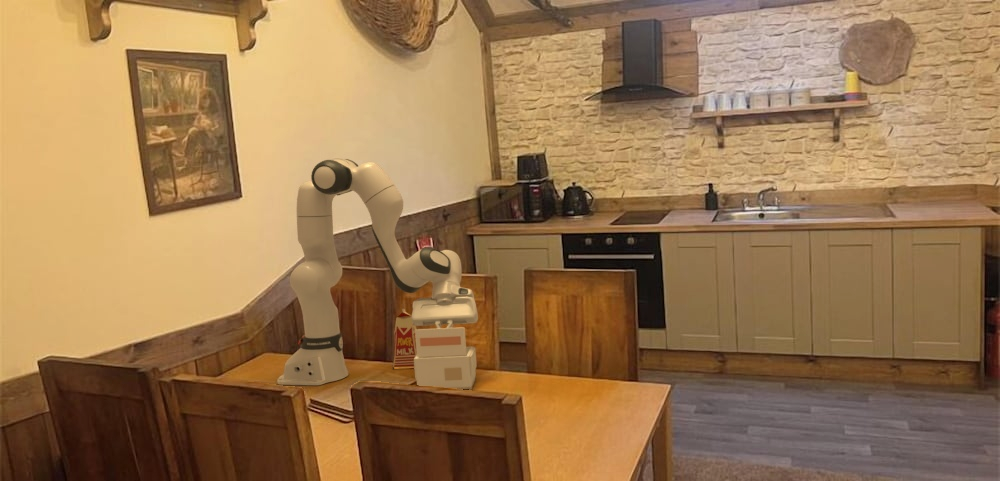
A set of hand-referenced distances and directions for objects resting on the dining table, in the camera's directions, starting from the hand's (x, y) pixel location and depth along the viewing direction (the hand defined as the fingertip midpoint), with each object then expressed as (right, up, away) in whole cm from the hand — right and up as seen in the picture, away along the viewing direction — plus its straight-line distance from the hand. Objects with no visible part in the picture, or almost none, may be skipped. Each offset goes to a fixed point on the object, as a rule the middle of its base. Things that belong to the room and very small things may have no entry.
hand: (443, 335), depth 218 cm
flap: (0, -1, -5) cm, 5 cm away
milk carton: (-14, -14, +27) cm, 33 cm away
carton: (+1, -15, +2) cm, 15 cm away
